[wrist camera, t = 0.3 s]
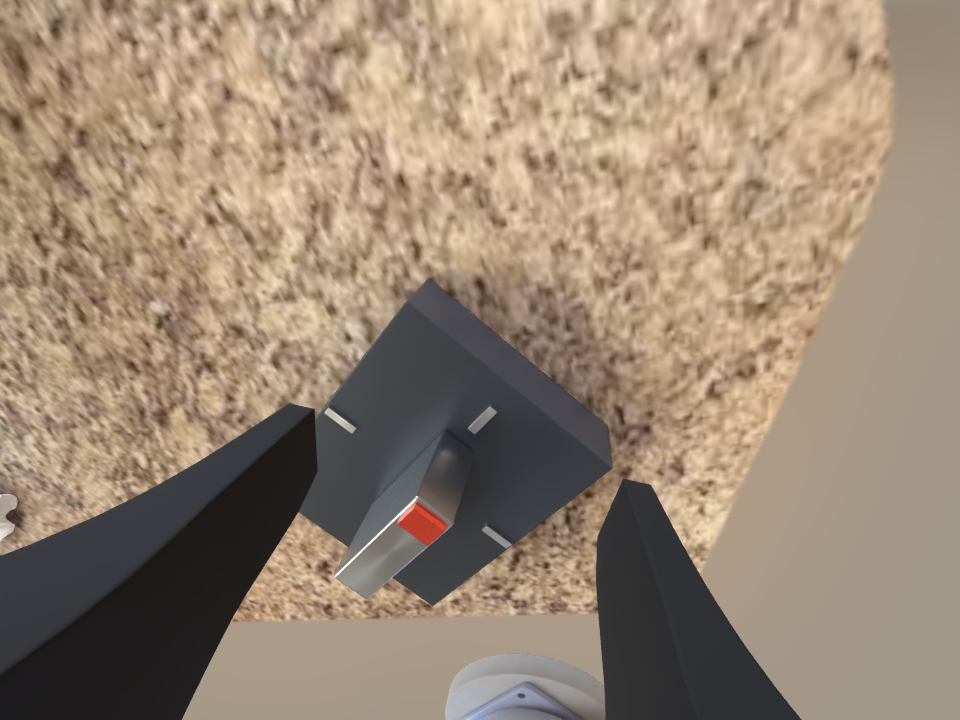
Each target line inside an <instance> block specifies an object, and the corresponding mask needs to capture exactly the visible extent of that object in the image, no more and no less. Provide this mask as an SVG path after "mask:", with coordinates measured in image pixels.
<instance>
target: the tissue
mask: <svg viewBox="0 0 960 720" xmlns="http://www.w3.org/2000/svg"><path fill="white" fill-rule="evenodd" d="M17 502H18V500H17V498H16V496H14V495H11V494H2V495H0V542H1V541H2V538H3V537H5V536H7V535H8V534H10V533H11V532H12V531H13V530H14V527H15V525H14V524H12V523H11V522H10V521H8V520H7V519H6V514H7V513H8V512H9V511H11V510H13V509H15V508H16V507H17Z"/></svg>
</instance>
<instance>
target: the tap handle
mask: <svg viewBox="0 0 960 720" xmlns="http://www.w3.org/2000/svg"><path fill="white" fill-rule="evenodd" d="M474 456H475V453H474V452H473V451H472V450H470V449H469V448H468V447H467V446H465V445H464V444H463V443H461V442H460V441H459V440H457V439H456V438H455V437H454V436H452V435H451V434H450V433H448V432H447V431H443V432H442V433H441V434H440V435H439V436H438V437H437V438H436V439H435V440H434V441H433V442H432V443H431V444H430V445H429V446H428V447H427V448H426V449H425V450H424V451H423V452H422V453H421V454H420V456H419V457H418V458H417V459H416V460H415V461H414V462H413V463H412V464H411V465H410V466H409V467H408V468H407V469H406V470H405V471H404V472H403V473H402V474H401V475H400V476H399V477H398V478H397V479H396V480H395V481H394V482H393V483H392V484H391V485H390V486H389V487H388V488H387V489H386V490H385V491H384V492H383V493H382V494H381V495H380V496H379V497H378V498H377V499H376V500H375V501H374V502H373V503H372V505H371V507H370V509H369V511H368V513H367V515H366V516H365V518H364V520H363V522H362V524H361V526H360V528H359V529H358V531H357V533H356V535H355V537H354V539H353V541H352V542H351V544H350V546H349V548H348V550H347V552H346V554H345V555H344V557H343V559H342V561H341V563H340V565H339V567H338V568H337V570H336V572H335V574H334V577H335V578H336V579H338V580H339V581H340V582H342V583H343V584H345V585H346V586H348V587H349V588H351V589H352V590H354V591H355V592H357V593H358V594H359V595H361V596H362V597H364V598H365V599H368V598H370V597H371V596H372V595H373V594H374V593H375V592H377V591H378V590H379V589H380V588H381V587H382V586H383V585H385V584H386V583H387V582H388V581H389V580H390V579H392V578H393V577H394V576H395V575H396V574H397V573H398V572H400V571H401V570H402V569H403V568H404V567H405V566H407V565H408V564H409V563H410V562H411V561H412V560H413V559H415V558H416V557H417V556H418V555H419V554H420V553H422V552H423V551H424V550H425V549H426V548H427V547H429V546H430V545H431V544H432V543H433V542H434V541H435V540H437V539H438V538H439V537H440V536H441V535H442V534H444V533H445V532H446V531H447V530H448V529H449V528H450V527H452V526H453V524H454V521H455V518H456V515H457V511H458V508H459V505H460V502H461V498H462V495H463V492H464V489H465V485H466V482H467V479H468V475H469V472H470V469H471V466H472V462H473V459H474Z"/></svg>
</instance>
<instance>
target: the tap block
mask: <svg viewBox="0 0 960 720" xmlns="http://www.w3.org/2000/svg"><path fill="white" fill-rule="evenodd" d="M315 428H316V447H317V465H318V472H317V474H316V476H315V478H314V481H313V483H312V485H311V487H310V489H309V491H308V494H307V496H306V498H305V500H304V502H303V504H302V506H301V508H300V510H299V513H301V514H302V515H304V516H305V517H307V518H308V519H309V520H311V521H312V522H314V523H315V524H317V525H318V526H319V527H321V528H322V529H324V530H325V531H327V532H328V533H329V534H331V535H332V536H334V537H335V538H337V539H338V540H339V541H341V542H342V543H344V544H345V545H346V546H348V547H349V546H350V544H351V542H352V541H353V539H354V537H355V535H356V533H357V531H358V529H359V528H360V526H361V524H362V522H363V520H364V518H365V516H366V515H367V513H368V511H369V509H370V507H371V505H372V503H373V502H374V501H375V500H376V499H377V498H378V497H379V496H380V495H381V494H382V493H383V492H384V491H385V490H386V489H387V488H388V487H389V486H390V485H391V484H392V483H393V482H394V481H395V480H396V479H397V478H398V477H399V476H400V475H401V474H402V473H403V472H404V471H405V470H406V469H407V468H408V467H409V466H410V465H411V464H412V463H413V462H414V461H415V460H416V459H417V458H418V457H419V456H420V454H421V453H422V452H423V451H424V450H425V449H426V448H427V447H428V446H429V445H430V444H431V443H432V442H433V441H434V440H435V439H436V438H437V437H438V436H439V435H440V434H441V433H442V432H443V431H447V432H448V433H450V434H451V435H452V436H454V437H455V438H456V439H457V440H459V441H460V442H461V443H463V444H464V445H465V446H467V447H468V448H469V449H470V450H472V451H473V452H474V453H475V456H474V459H473V462H472V466H471V469H470V472H469V475H468V479H467V482H466V485H465V489H464V492H463V495H462V498H461V502H460V505H459V508H458V511H457V515H456V518H455V521H454V524H453V526H452V527H450V528H449V529H448V530H447V531H446V532H445V533H444V534H442V535H441V536H440V537H439V538H438V539H437V540H435V541H434V542H433V543H432V544H431V545H430V546H429V547H427V548H426V549H425V550H424V551H423V552H422V553H420V554H419V555H418V556H417V557H416V558H415V559H413V560H412V561H411V562H410V563H409V564H408V565H407V566H405V567H404V568H403V569H402V570H401V571H400V572H398V573H397V574H396V575H395V576H394V577H393V578H394V579H395V580H396V581H398V582H399V583H401V584H402V585H404V586H405V587H406V588H408V589H409V590H411V591H412V592H414V593H415V594H416V595H418V596H419V597H421V598H422V599H423V600H425V601H426V602H428V603H429V604H431V605H432V606H434V605H435V604H436V603H438V602H439V601H440V600H442V599H443V598H444V597H446V596H447V595H448V594H449V593H451V592H452V591H453V590H455V589H456V588H457V587H459V586H460V585H461V584H462V583H464V582H465V581H466V580H468V579H469V578H470V577H472V576H473V575H474V574H476V573H477V572H478V571H479V570H481V569H482V568H483V567H485V566H486V565H487V564H489V563H490V562H491V561H492V560H494V559H495V558H496V557H498V556H499V555H500V554H502V553H503V552H504V551H505V550H507V549H508V548H509V547H511V546H512V545H513V544H515V543H516V542H517V541H518V540H520V539H521V538H522V537H524V536H525V535H526V534H528V533H529V532H530V531H532V530H533V529H534V528H535V527H537V526H538V525H539V524H541V523H542V522H543V521H545V520H546V519H547V518H548V517H550V516H551V515H552V514H554V513H555V512H556V511H558V510H559V509H560V508H561V507H563V506H564V505H565V504H567V503H568V502H569V501H571V500H572V499H573V498H574V497H576V496H577V495H578V494H580V493H581V492H582V491H584V490H585V489H586V488H588V487H589V486H590V485H591V484H593V483H594V482H595V481H597V480H598V479H599V478H601V477H602V476H603V475H604V474H606V473H607V472H608V471H610V470H611V469H612V468H613V466H612V457H611V448H610V439H609V430H608V426H607V425H606V424H605V423H604V422H602V421H601V420H600V419H599V418H598V417H596V416H595V415H594V414H593V413H592V412H590V411H589V410H588V409H587V408H586V407H584V406H583V405H582V404H581V403H579V402H578V401H577V400H576V399H575V398H573V397H572V396H571V395H570V394H569V393H567V392H566V391H565V390H564V389H563V388H561V387H560V386H559V385H558V384H556V383H555V382H554V381H553V380H552V379H550V378H549V377H548V376H547V375H546V374H544V373H543V372H542V371H541V370H540V369H538V368H537V367H536V366H535V365H533V364H532V363H531V362H530V361H529V360H527V359H526V358H525V357H524V356H523V355H521V354H520V353H519V352H518V351H516V350H515V349H514V348H513V347H512V346H510V345H509V344H508V343H507V342H506V341H504V340H503V339H502V338H501V337H500V336H498V335H497V334H496V333H495V332H493V331H492V330H491V329H490V328H489V327H487V326H486V325H485V324H484V323H483V322H481V321H480V320H479V319H478V318H477V317H475V316H474V315H473V314H472V313H470V312H469V311H468V310H467V309H466V308H464V307H463V306H462V305H461V304H460V303H458V302H457V301H456V300H455V299H454V298H452V297H451V296H450V295H449V294H447V293H446V292H445V291H444V290H443V289H441V288H440V287H439V286H438V285H437V284H435V283H434V282H433V281H432V280H431V279H428V280H427V281H426V282H425V283H424V284H423V285H422V286H421V287H420V288H419V289H418V290H417V291H416V292H415V293H414V294H413V295H412V296H411V297H410V298H409V299H408V300H407V301H406V302H405V304H404V305H403V306H402V308H401V309H400V310H399V311H398V313H397V314H396V315H395V317H394V318H393V319H392V320H391V322H390V323H389V324H388V326H387V327H386V328H385V329H384V331H383V332H382V333H381V335H380V336H379V337H378V338H377V340H376V341H375V342H374V344H373V345H372V346H371V347H370V349H369V350H368V351H367V353H366V354H365V355H364V356H363V358H362V359H361V360H360V362H359V363H358V364H357V366H356V367H355V368H354V369H353V371H352V372H351V373H350V375H349V376H348V377H347V378H346V380H345V381H344V382H343V384H342V385H341V386H340V387H339V389H338V390H337V391H336V393H335V394H334V395H333V396H332V398H331V399H330V400H329V402H328V403H327V404H326V405H325V407H324V408H323V409H322V411H321V412H320V413H319V414H318V416H317V417H316V418H315Z"/></svg>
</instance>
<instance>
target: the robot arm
mask: <svg viewBox="0 0 960 720" xmlns="http://www.w3.org/2000/svg"><path fill="white" fill-rule="evenodd" d="M317 472H318V465H317V447H316V428H315V409H312V408H307V407H303V406H298V405H294V404H288V405H286V406H285V407H283V408H282V409H280V410H279V411H277V412H275V413H274V414H272V415H271V416H269V417H268V418H266V419H265V420H263V421H262V422H260V423H259V424H257V425H256V426H254V427H252V428H251V429H249V430H248V431H246V432H245V433H243V434H242V435H240V436H239V437H237V438H236V439H234V440H232V441H231V442H229V443H228V444H226V445H225V446H223V447H221V448H220V449H218V450H217V451H215V452H213V453H212V454H210V455H209V456H207V457H205V458H204V459H202V460H201V461H199V462H197V463H196V464H194V465H192V466H190V467H189V468H187V469H185V470H183V471H182V472H180V473H178V474H177V475H175V476H173V477H171V478H170V479H168V480H166V481H164V482H163V483H161V484H159V485H157V486H155V487H154V488H152V489H150V490H148V491H146V492H144V493H142V494H140V495H138V496H136V497H135V498H133V499H131V500H129V501H127V502H124V503H122V504H120V505H118V506H116V507H114V508H112V509H110V510H108V511H106V512H104V513H102V514H100V515H98V516H95V517H93V518H91V519H89V520H87V521H84V522H82V523H80V524H77V525H75V526H73V527H70V528H68V529H66V530H63V531H61V532H59V533H56V534H54V535H52V536H49V537H47V538H45V539H42V540H40V541H38V542H35V543H33V544H31V545H28V546H26V547H23V548H21V549H18V550H15V551H13V552H10V553H8V554H5V555H2V556H0V720H182V718H183V716H184V714H185V712H186V709H187V707H188V705H189V703H190V701H191V699H192V697H193V695H194V693H195V691H196V689H197V687H198V685H199V683H200V681H201V679H202V677H203V675H204V673H205V671H206V669H207V667H208V665H209V663H210V661H211V659H212V657H213V655H214V653H215V651H216V649H217V647H218V645H219V643H220V641H221V639H222V637H223V635H224V633H225V631H226V629H227V627H228V626H229V624H230V622H231V620H232V618H233V616H234V614H235V613H236V611H237V609H238V607H239V606H240V604H241V602H242V601H243V599H244V597H245V595H246V594H247V592H248V591H249V589H250V588H251V586H252V584H253V583H254V581H255V580H256V578H257V577H258V575H259V573H260V572H261V570H262V569H263V567H264V566H265V564H266V562H267V561H268V559H269V558H270V556H271V555H272V553H273V551H274V550H275V548H276V547H277V545H278V544H279V542H280V541H281V539H282V537H283V536H284V534H285V533H286V531H287V529H288V528H289V526H290V525H291V523H292V521H293V520H294V518H295V516H296V515H297V513H298V512H299V510H300V508H301V506H302V504H303V502H304V500H305V498H306V496H307V494H308V491H309V489H310V487H311V485H312V483H313V481H314V478H315V476H316V474H317ZM596 587H597V601H598V614H599V626H600V638H601V649H602V662H603V674H604V686H605V709H606V720H801V719H800V718H799V716H798V715H797V714H796V712H795V711H794V710H793V709H792V708H791V706H790V705H789V704H788V703H787V701H786V700H785V699H784V698H783V696H782V695H781V694H780V692H779V691H778V690H777V689H776V687H775V686H774V685H773V683H772V682H771V681H770V679H769V678H768V677H767V675H766V674H765V672H764V671H763V670H762V668H761V667H760V666H759V664H758V663H757V662H756V660H755V659H754V658H753V656H752V655H751V653H750V652H749V651H748V649H747V648H746V646H745V645H744V643H743V642H742V641H741V639H740V638H739V636H738V635H737V633H736V632H735V630H734V629H733V627H732V626H731V624H730V623H729V621H728V619H727V618H726V616H725V615H724V613H723V612H722V610H721V609H720V607H719V606H718V604H717V602H716V601H715V599H714V598H713V596H712V594H711V593H710V591H709V589H708V588H707V586H706V584H705V583H704V581H703V579H702V578H701V576H700V574H699V572H698V571H697V569H696V567H695V566H694V564H693V562H692V560H691V559H690V557H689V555H688V553H687V552H686V550H685V548H684V546H683V545H682V543H681V541H680V539H679V537H678V535H677V533H676V532H675V530H674V528H673V526H672V524H671V522H670V520H669V518H668V517H667V515H666V513H665V511H664V509H663V507H662V505H661V503H660V501H659V499H658V497H657V495H656V493H655V492H654V490H653V488H652V486H651V485H649V484H644V483H640V482H635V481H631V480H627V479H623V480H622V483H621V485H620V487H619V489H618V492H617V494H616V496H615V498H614V501H613V503H612V505H611V507H610V510H609V512H608V514H607V516H606V519H605V521H604V523H603V525H602V528H601V530H600V532H599V534H598V540H597V563H596ZM458 720H583V719H582V718H580V717H579V716H577V715H576V714H574V713H573V712H572V711H570V710H569V709H567V708H566V707H564V706H563V705H562V704H560V703H559V702H557V701H556V700H554V699H553V698H551V697H550V696H549V695H547V694H546V693H544V692H543V691H541V690H540V689H539V688H537V687H536V686H534V685H533V684H531V683H529V682H523V683H521V684H519V685H517V686H516V687H514V688H512V689H510V690H509V691H507V692H505V693H503V694H502V695H500V696H498V697H496V698H495V699H493V700H491V701H489V702H488V703H486V704H484V705H482V706H481V707H479V708H477V709H475V710H474V711H472V712H470V713H468V714H467V715H465V716H463V717H461V718H460V719H458Z"/></svg>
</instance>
